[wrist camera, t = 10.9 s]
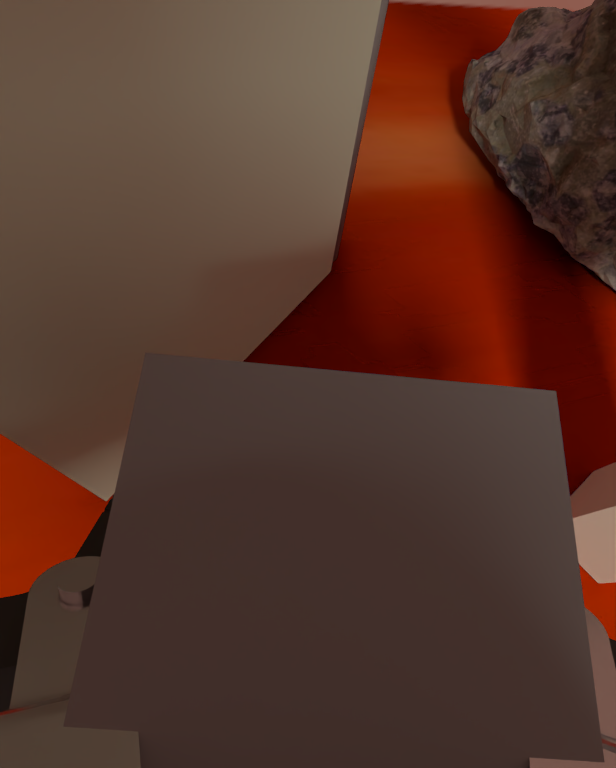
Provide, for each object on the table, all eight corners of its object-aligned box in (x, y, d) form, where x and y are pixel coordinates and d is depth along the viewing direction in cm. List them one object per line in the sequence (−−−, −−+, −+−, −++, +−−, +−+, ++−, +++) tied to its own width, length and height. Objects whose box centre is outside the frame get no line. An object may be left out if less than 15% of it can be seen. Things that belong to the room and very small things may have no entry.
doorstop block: (385, 692, 14) (617, 862, 5) (195, 678, 14) (40, 826, 4) (386, 519, 16) (556, 391, 6) (219, 504, 15) (144, 352, 6)
